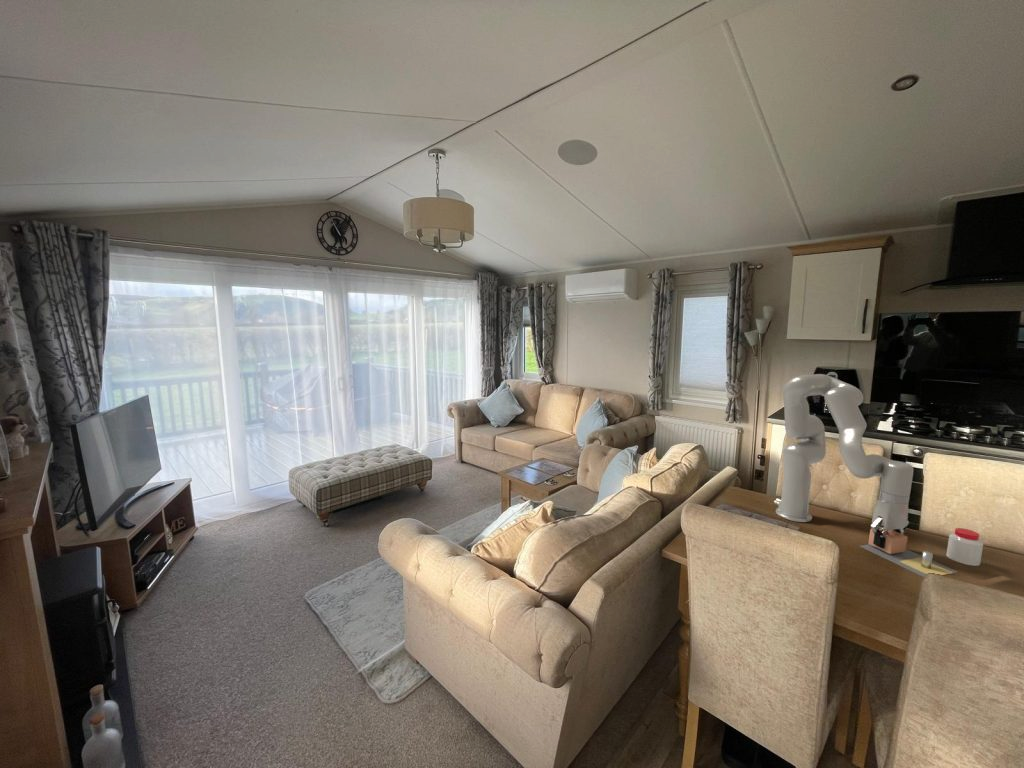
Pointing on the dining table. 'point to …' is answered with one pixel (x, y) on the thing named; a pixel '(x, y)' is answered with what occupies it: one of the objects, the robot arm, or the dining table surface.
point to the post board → (913, 561)
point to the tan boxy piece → (891, 541)
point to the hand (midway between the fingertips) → (887, 544)
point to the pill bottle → (965, 547)
